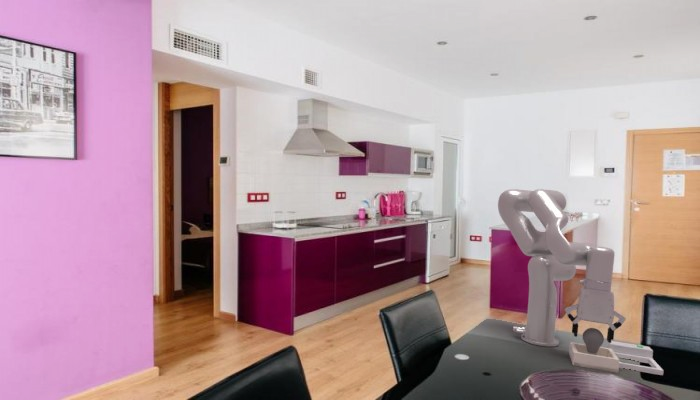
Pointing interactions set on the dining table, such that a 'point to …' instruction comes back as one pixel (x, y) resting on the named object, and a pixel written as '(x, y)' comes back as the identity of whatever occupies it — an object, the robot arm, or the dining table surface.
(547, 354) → the dining table surface
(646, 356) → the tester cradle
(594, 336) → the light bulb
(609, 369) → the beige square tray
